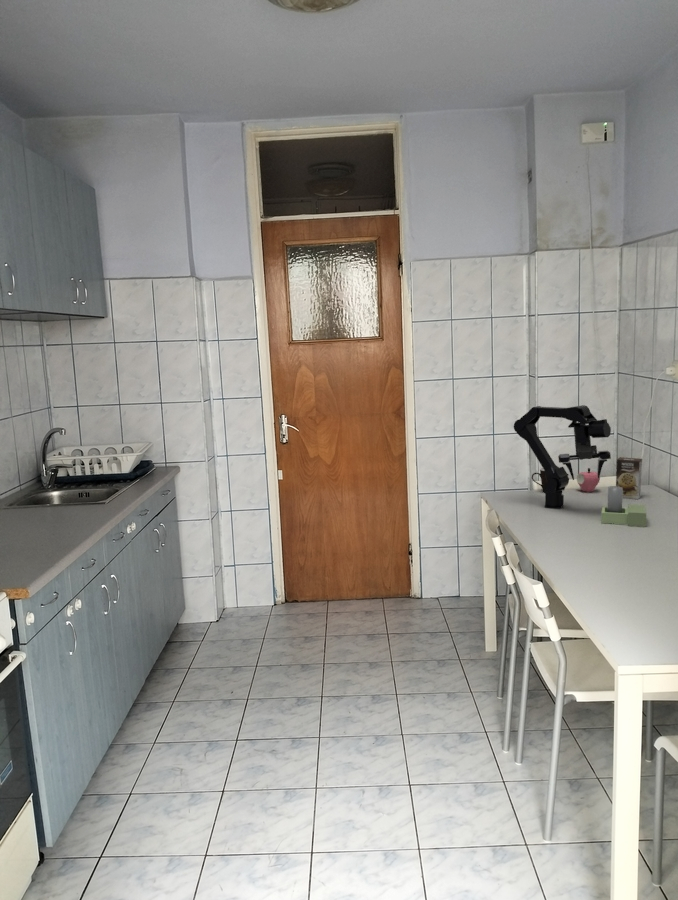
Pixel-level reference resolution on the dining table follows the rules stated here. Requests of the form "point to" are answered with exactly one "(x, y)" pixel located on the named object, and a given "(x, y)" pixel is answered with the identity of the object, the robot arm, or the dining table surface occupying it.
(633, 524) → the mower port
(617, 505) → the grey rounded post
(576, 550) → the dining table surface
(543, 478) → the coffee mug
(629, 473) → the brown cookie box
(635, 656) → the dining table surface
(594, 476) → the apple
